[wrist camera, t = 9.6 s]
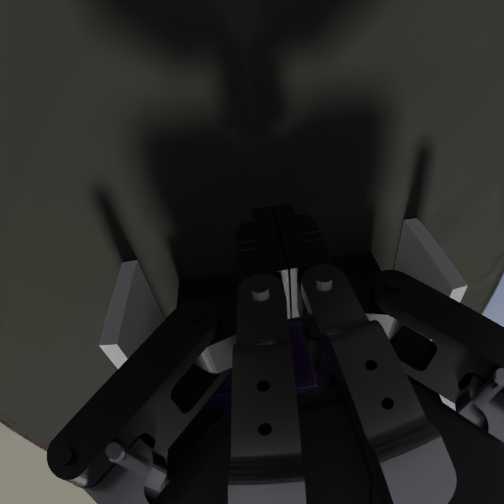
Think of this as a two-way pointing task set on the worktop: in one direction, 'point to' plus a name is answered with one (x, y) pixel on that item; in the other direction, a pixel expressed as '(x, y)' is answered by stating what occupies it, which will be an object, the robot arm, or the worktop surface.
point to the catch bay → (150, 317)
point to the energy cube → (221, 399)
